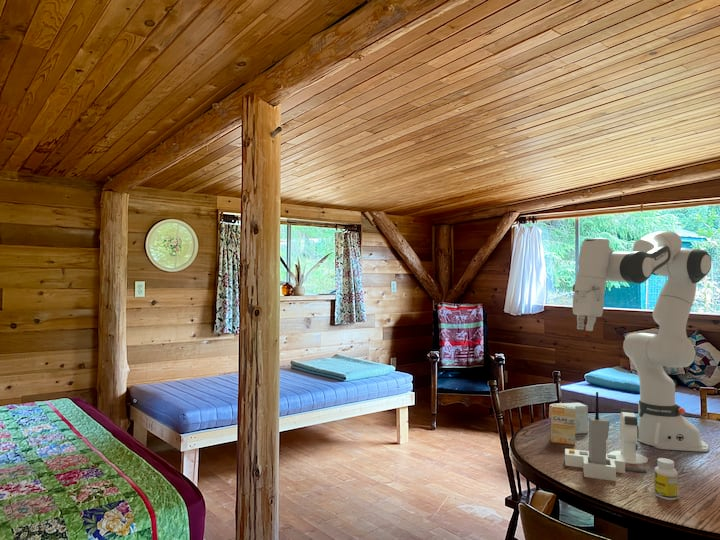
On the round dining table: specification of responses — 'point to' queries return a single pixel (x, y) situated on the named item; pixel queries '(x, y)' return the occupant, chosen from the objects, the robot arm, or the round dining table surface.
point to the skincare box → (579, 417)
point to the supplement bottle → (666, 479)
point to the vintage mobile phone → (598, 437)
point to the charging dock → (598, 465)
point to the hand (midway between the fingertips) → (584, 330)
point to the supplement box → (563, 424)
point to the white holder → (629, 438)
